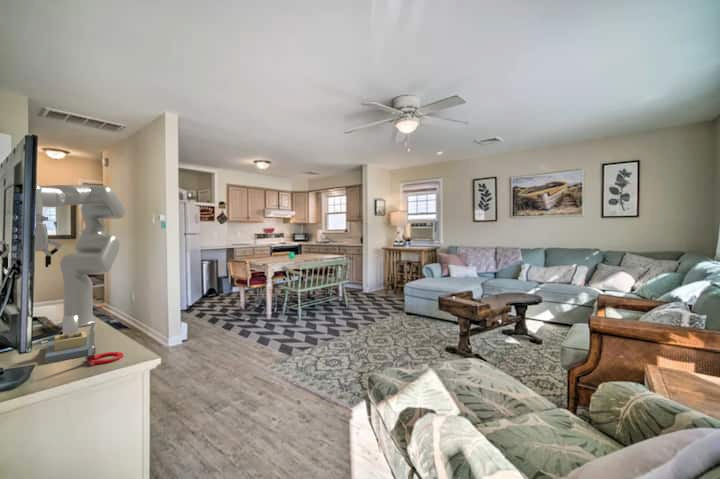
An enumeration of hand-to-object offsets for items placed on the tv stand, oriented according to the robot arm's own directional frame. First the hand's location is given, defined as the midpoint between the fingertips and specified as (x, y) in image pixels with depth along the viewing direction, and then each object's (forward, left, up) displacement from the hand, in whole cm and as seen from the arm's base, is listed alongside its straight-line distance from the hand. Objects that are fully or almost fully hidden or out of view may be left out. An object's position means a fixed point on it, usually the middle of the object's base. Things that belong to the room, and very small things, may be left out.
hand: (27, 267), depth 110 cm
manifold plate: (+14, +11, -28) cm, 33 cm away
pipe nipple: (+14, +11, -26) cm, 32 cm away
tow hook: (+31, +19, -29) cm, 46 cm away
